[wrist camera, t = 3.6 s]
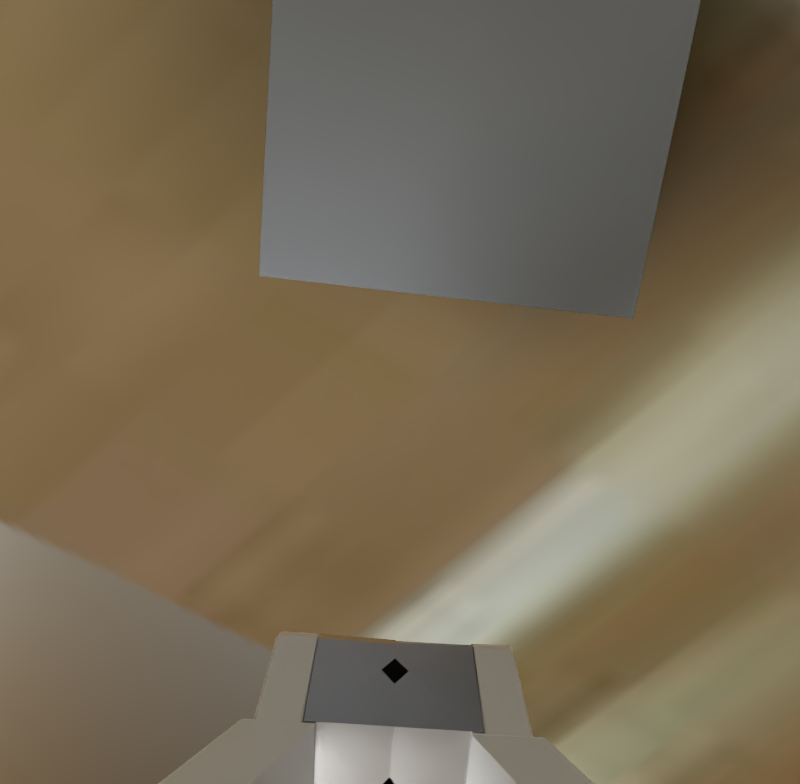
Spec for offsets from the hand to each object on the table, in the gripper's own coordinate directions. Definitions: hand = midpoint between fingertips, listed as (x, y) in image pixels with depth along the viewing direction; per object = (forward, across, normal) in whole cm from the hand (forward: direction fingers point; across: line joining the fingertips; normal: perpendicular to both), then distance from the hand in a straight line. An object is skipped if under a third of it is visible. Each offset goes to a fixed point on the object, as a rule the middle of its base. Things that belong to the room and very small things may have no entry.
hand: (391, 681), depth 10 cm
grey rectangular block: (+7, -1, -9) cm, 11 cm away
